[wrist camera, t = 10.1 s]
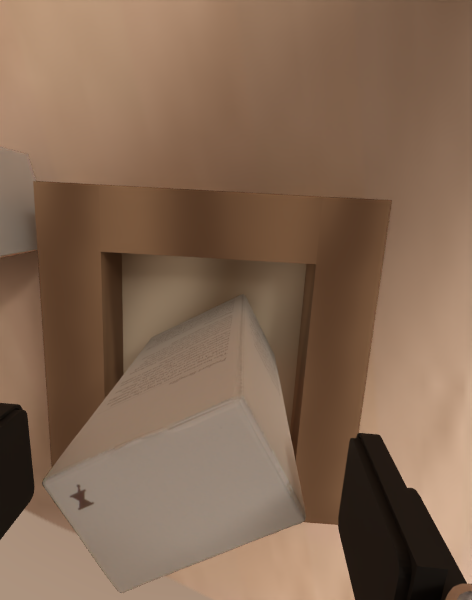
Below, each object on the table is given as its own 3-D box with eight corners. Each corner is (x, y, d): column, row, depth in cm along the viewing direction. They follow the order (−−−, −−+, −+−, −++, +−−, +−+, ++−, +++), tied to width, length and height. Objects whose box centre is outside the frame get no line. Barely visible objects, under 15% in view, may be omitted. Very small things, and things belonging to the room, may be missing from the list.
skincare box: (186, 398, 22) (113, 601, 11) (150, 335, 21) (30, 481, 10) (279, 356, 21) (312, 526, 10) (246, 290, 21) (238, 390, 9)
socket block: (368, 202, 20) (391, 200, 17) (331, 480, 24) (345, 525, 20) (69, 186, 20) (32, 180, 17) (82, 461, 24) (53, 502, 21)
